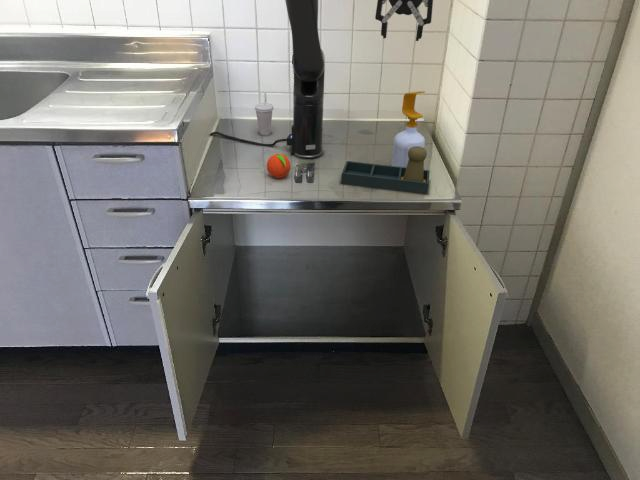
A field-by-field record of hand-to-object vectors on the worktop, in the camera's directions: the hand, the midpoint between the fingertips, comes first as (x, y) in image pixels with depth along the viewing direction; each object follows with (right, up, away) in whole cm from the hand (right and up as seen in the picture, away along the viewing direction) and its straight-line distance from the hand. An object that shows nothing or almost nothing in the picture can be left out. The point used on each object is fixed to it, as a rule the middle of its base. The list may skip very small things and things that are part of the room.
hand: (400, 39), depth 132 cm
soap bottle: (+5, -32, +22) cm, 39 cm away
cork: (+6, -37, +13) cm, 39 cm away
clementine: (-33, -35, +15) cm, 50 cm away
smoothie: (-41, -16, +43) cm, 61 cm away
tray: (-2, -36, +15) cm, 39 cm away
